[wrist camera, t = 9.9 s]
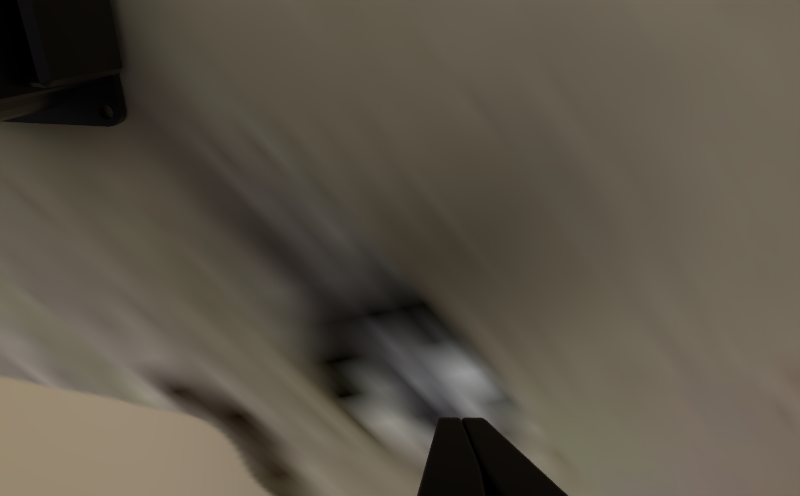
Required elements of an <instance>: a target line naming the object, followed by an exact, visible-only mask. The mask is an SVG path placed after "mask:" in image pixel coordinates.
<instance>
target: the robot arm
mask: <svg viewBox="0 0 800 496" xmlns="http://www.w3.org/2000/svg"><path fill="white" fill-rule="evenodd" d="M121 68H122V63H121V58H120V53H119V47H118V42H117V37H116V32H115V27H114V21H113V16H112V11H111V6H110V0H0V122H1V121H4V122H24V123H45V124H66V125H87V126H108V127H109V126H115V125H117V124H120V123H121V122H123V121H124V119H125V117H126V109H125V104H124V99H123V94H122V89H121V84H120V79H119V74H118V72H119V71H120V69H121ZM105 105H106V106H109V107H110V108H111V109H112V111H113V117H109V116H108V115H107V114H106V113H105V111H104V106H105ZM417 496H568V495H567V494H566V493H565V492H564V491H562V490H561V489H560V488H559V487H558V486H557V485H556V484H555V483H554V482H553V481H552V480H551V479H549V478H548V477H547V476H546V475H545V474H544V473H543V472H542V471H541V470H540V469H539V468H537V467H536V466H535V465H534V464H533V463H532V462H531V461H530V460H529V459H528V458H527V457H526V456H524V455H523V454H522V453H521V452H520V451H519V450H518V449H517V448H516V447H515V446H514V445H513V444H511V443H510V442H509V441H508V440H507V439H506V438H505V437H504V436H503V435H502V434H501V433H499V432H498V431H497V430H496V429H495V428H494V427H493V426H492V425H491V424H490V423H489V422H488V421H486V420H485V419H483V418H463V419H462V420H461V419H460V418H457V417H442V418H439V420H438V423H437V426H436V430H435V433H434V437H433V441H432V444H431V448H430V451H429V455H428V458H427V462H426V466H425V469H424V473H423V476H422V480H421V483H420V487H419V491H418V494H417Z"/></svg>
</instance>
